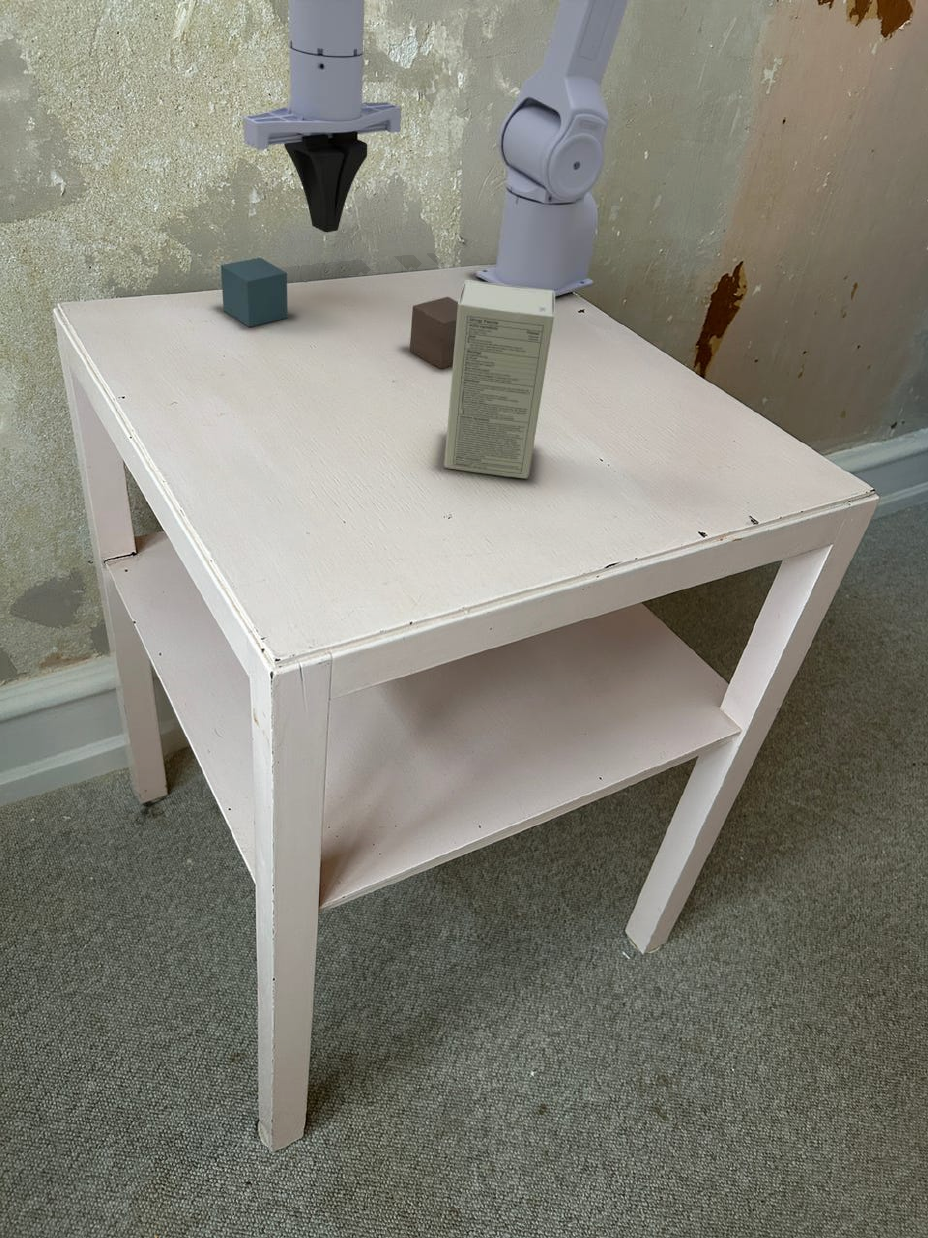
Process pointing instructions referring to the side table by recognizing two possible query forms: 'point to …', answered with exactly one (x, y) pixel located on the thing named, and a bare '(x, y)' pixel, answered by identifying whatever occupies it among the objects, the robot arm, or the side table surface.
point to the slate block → (254, 291)
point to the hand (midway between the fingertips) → (325, 227)
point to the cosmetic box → (497, 377)
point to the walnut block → (434, 331)
